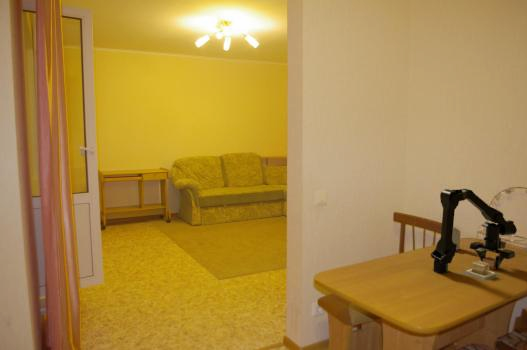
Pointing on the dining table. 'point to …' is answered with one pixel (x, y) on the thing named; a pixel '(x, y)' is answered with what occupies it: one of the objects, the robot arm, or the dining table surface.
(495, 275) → the board
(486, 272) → the base block
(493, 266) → the top block
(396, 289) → the dining table surface
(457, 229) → the can
